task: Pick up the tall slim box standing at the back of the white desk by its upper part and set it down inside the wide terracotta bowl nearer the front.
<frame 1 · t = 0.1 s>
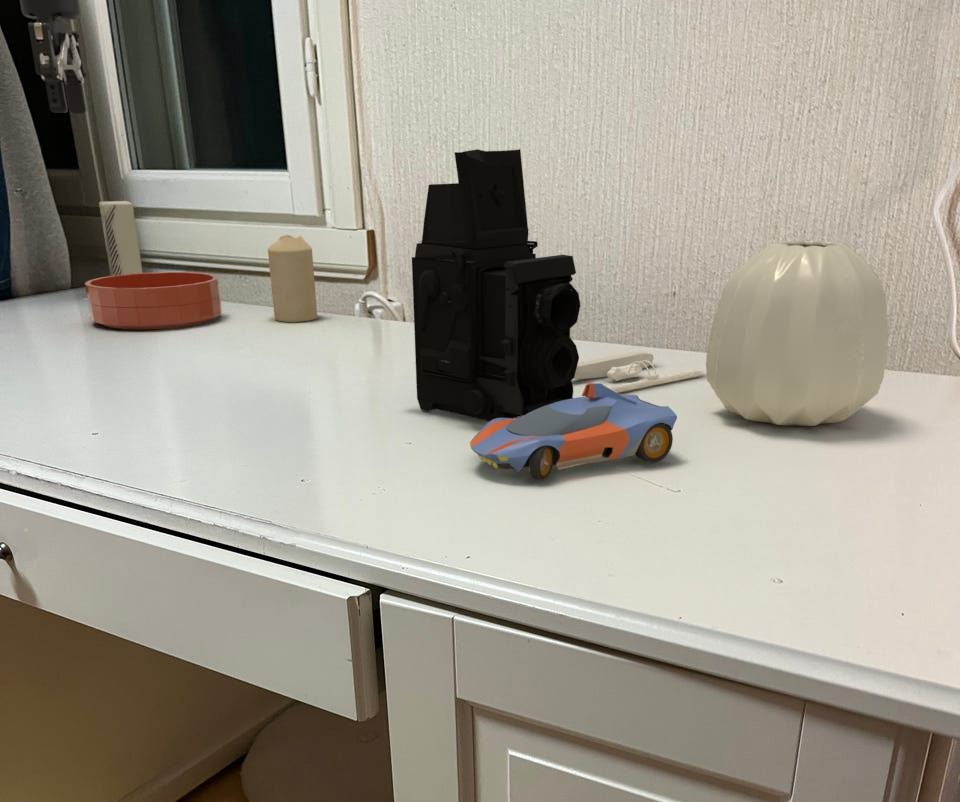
hand: (69, 113, 140), 24 cm above the table, tool pointing down, fingers open, 8 cm apart
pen: (605, 376, 97), on the table
toy car: (567, 462, 72), on the table
camera: (500, 416, 84), on the table
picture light: (637, 384, 94), on the table
box: (130, 295, 150), on the table
candle: (296, 320, 128), on the table
vase: (785, 418, 82), on the table
bowl: (158, 320, 128), on the table
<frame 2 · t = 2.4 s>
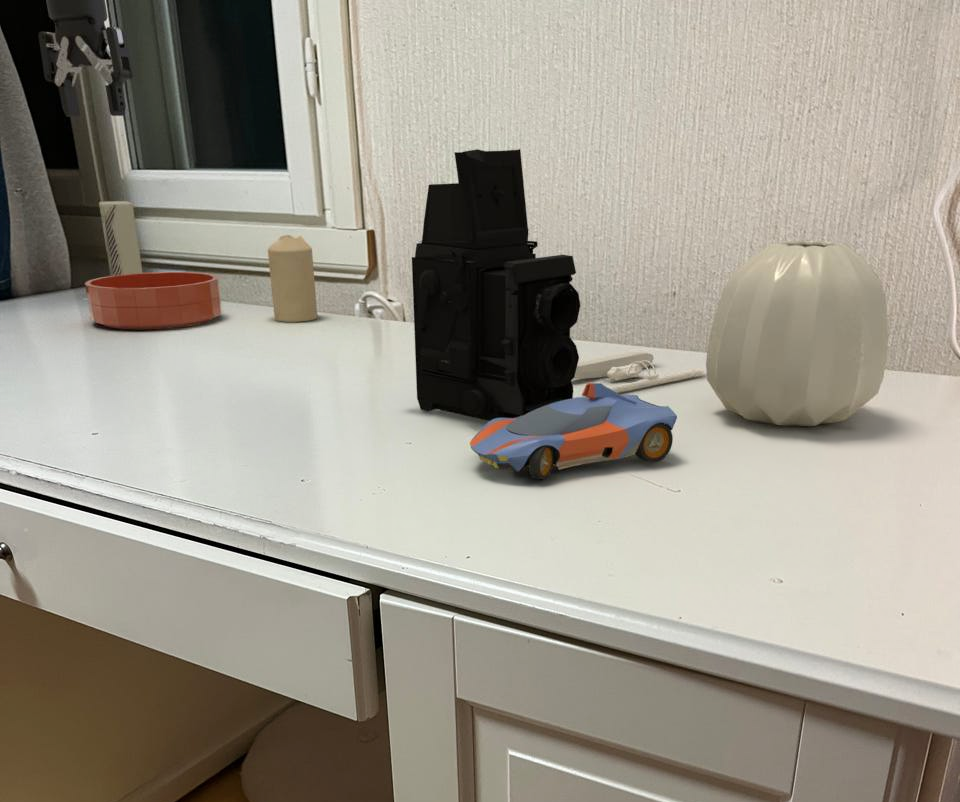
hand: (95, 116, 139), 24 cm above the table, tool pointing down, fingers open, 8 cm apart
nothing on the table moved.
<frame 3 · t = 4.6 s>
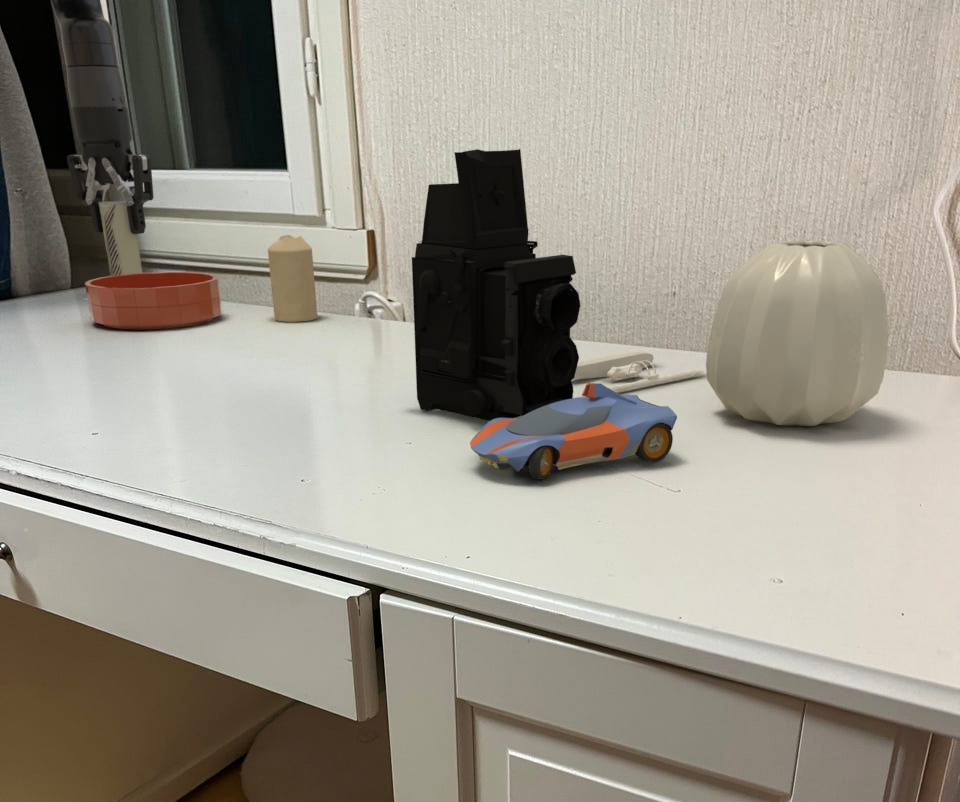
hand: (120, 232, 146), 9 cm above the table, tool pointing down, fingers closed on box, 6 cm apart
box: (130, 295, 150), on the table, touching gripper
everything else where it was.
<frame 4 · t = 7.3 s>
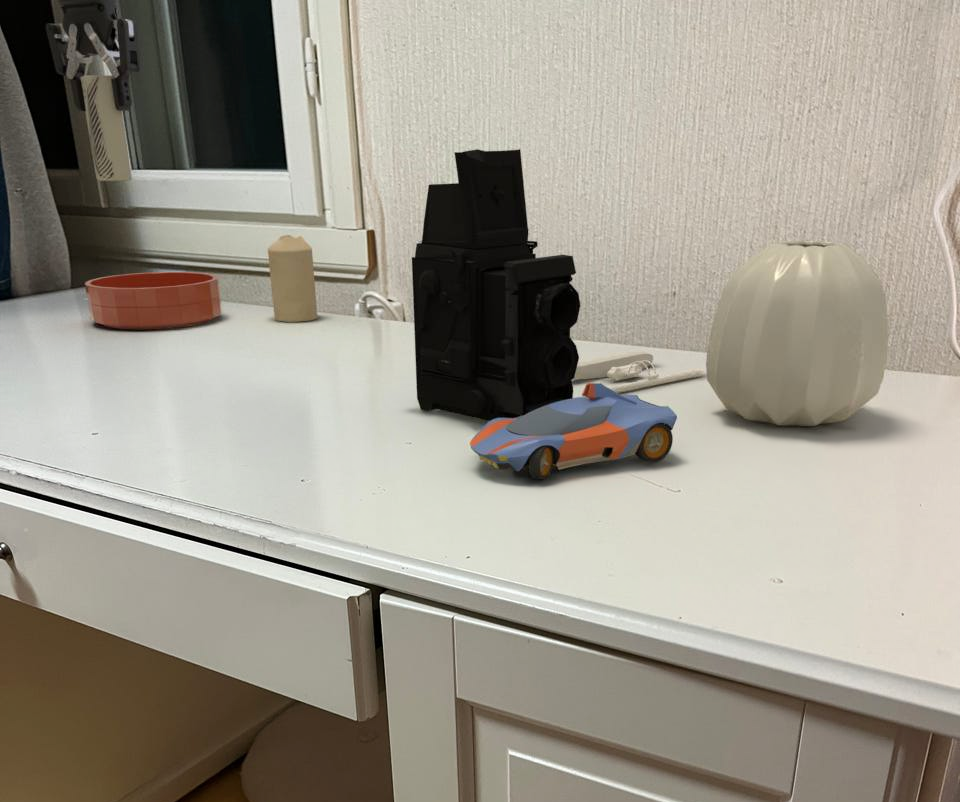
hand: (104, 110, 135), 25 cm above the table, tool pointing down, fingers closed on box, 6 cm apart
box: (115, 182, 139), point 16 cm above the table, touching gripper
everything else where it was.
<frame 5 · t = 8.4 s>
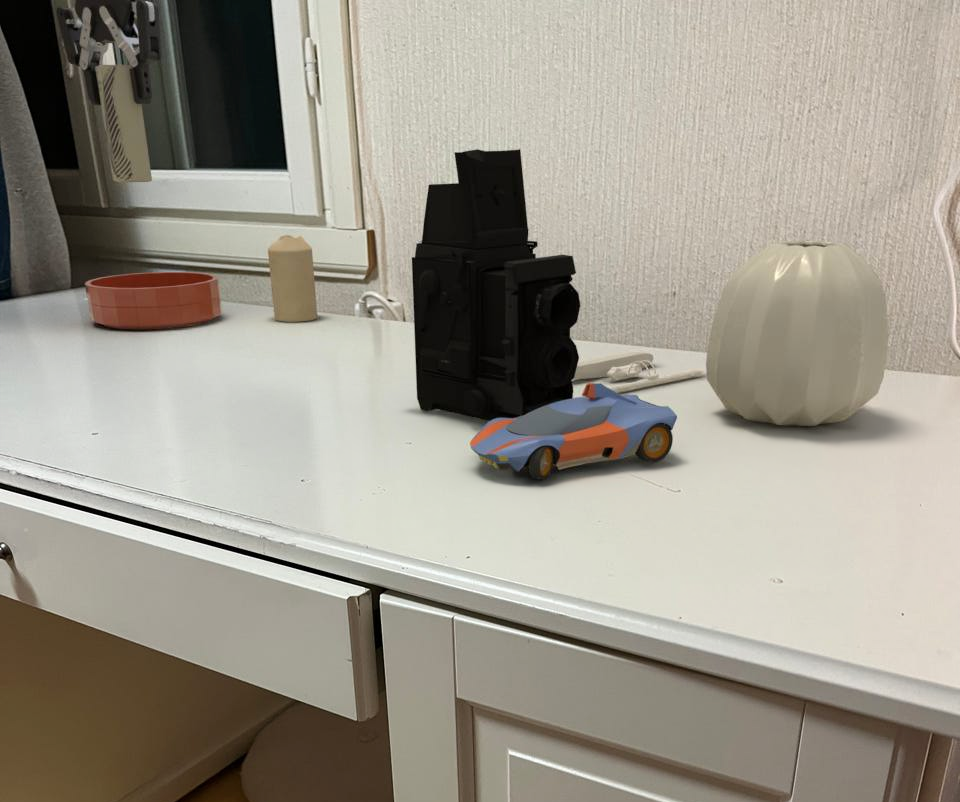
hand: (121, 104, 121), 25 cm above the table, tool pointing down, fingers closed on box, 6 cm apart
box: (133, 183, 125), point 16 cm above the table, touching gripper
everything else where it was.
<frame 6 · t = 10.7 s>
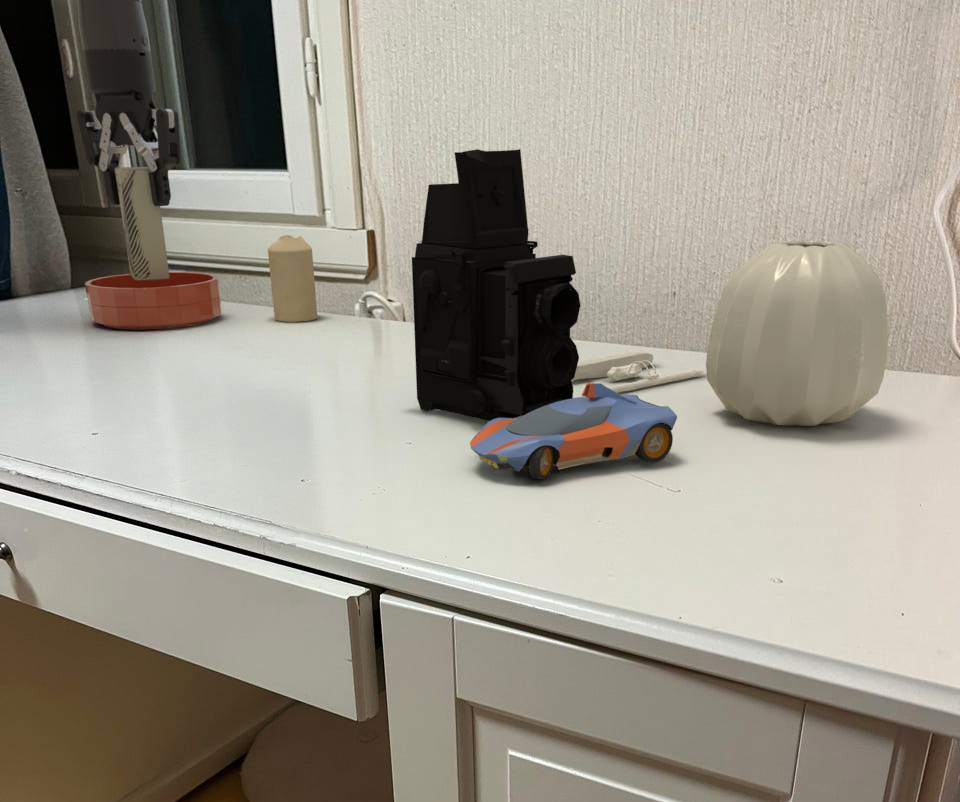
hand: (140, 204, 122), 14 cm above the table, tool pointing down, fingers closed on box, 6 cm apart
box: (151, 280, 126), point 5 cm above the table, touching gripper
everything else where it was.
when the fingers open (9 cm above the table, at t = 12.4 s): box stays where it is, resting on bowl.
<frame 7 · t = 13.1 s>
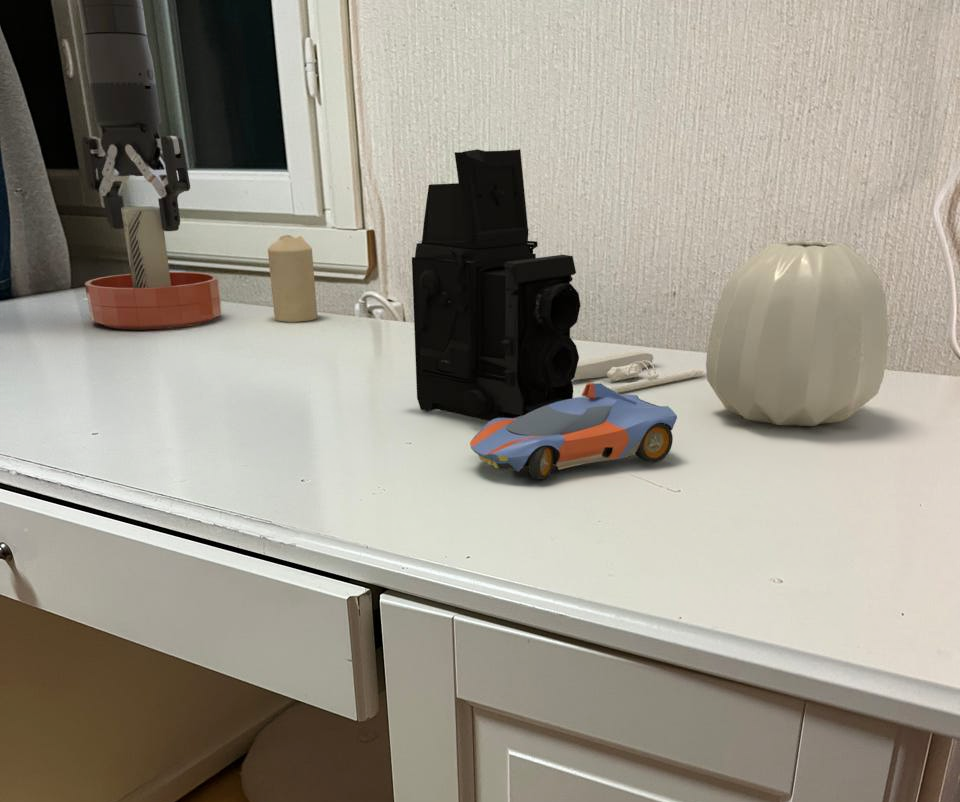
hand: (144, 229, 123), 11 cm above the table, tool pointing down, fingers open, 8 cm apart
box: (156, 317, 128), resting on bowl
everything else where it was.
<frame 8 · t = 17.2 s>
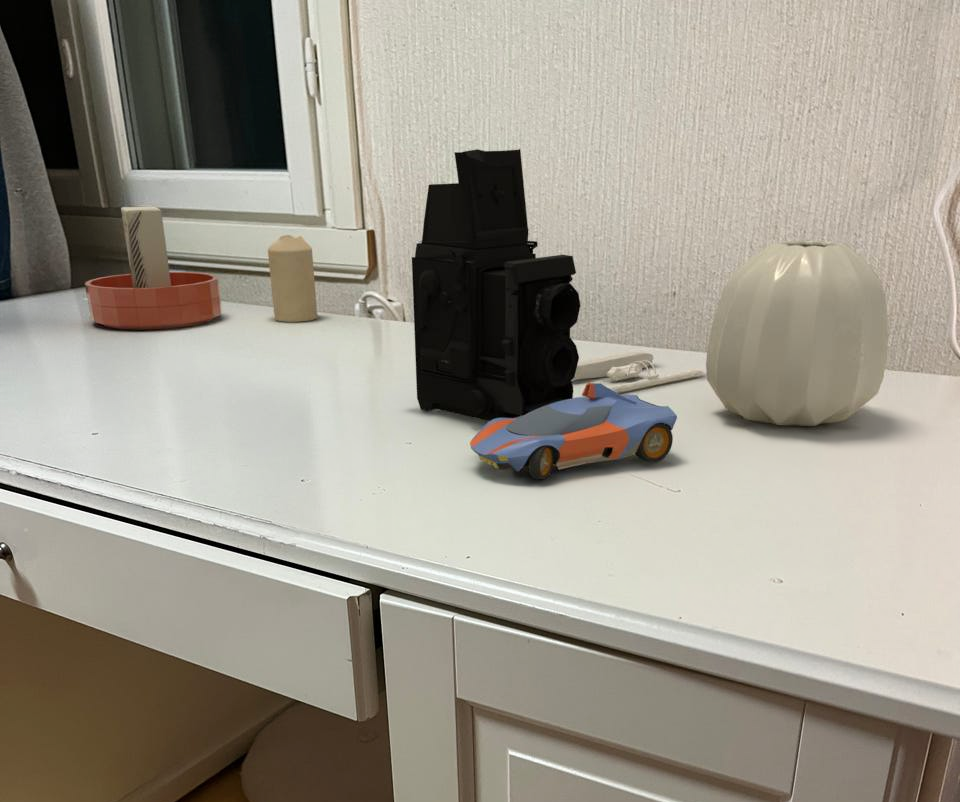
nothing on the table moved.
at the end: box inside the target area in the bowl (0.2 cm from its centre), point 0.4 cm above the bowl's base; the gripper is holding nothing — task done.
